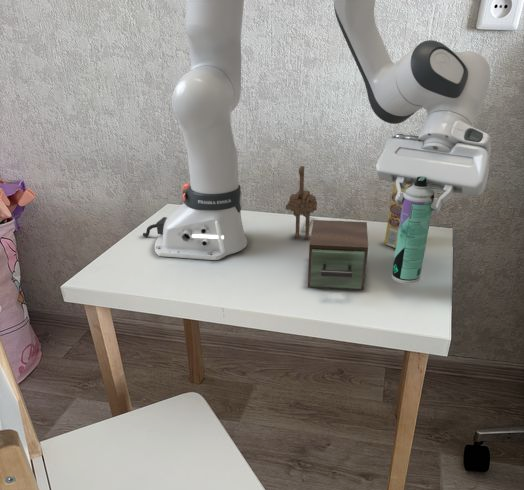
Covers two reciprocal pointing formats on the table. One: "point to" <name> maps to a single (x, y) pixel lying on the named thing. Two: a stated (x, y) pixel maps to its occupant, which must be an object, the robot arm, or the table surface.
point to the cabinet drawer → (337, 268)
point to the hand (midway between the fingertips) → (416, 206)
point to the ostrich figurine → (302, 205)
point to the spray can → (413, 232)
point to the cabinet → (338, 240)
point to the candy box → (394, 219)
